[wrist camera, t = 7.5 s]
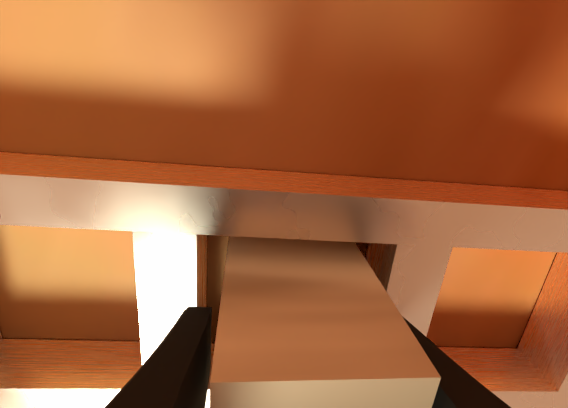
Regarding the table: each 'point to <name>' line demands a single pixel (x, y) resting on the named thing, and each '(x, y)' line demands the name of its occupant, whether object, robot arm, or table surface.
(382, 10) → the table surface
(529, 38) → the table surface
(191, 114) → the table surface
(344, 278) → the birch peg
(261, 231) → the tan slotted board
